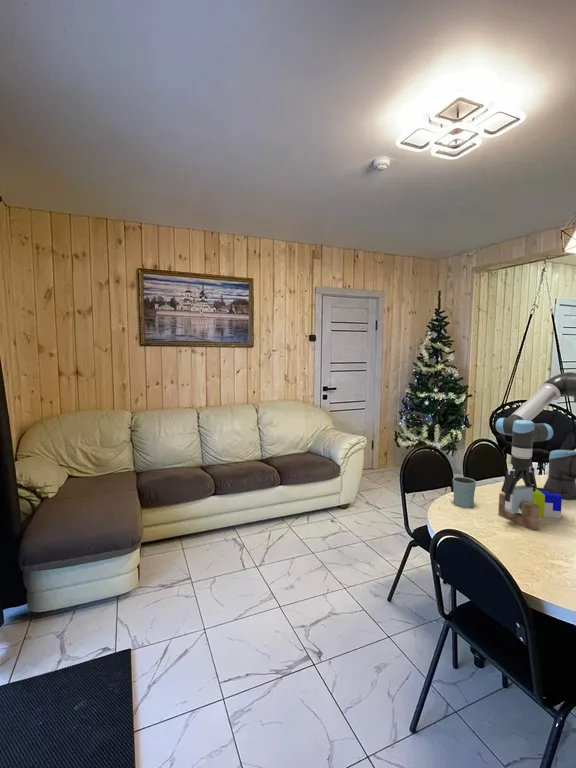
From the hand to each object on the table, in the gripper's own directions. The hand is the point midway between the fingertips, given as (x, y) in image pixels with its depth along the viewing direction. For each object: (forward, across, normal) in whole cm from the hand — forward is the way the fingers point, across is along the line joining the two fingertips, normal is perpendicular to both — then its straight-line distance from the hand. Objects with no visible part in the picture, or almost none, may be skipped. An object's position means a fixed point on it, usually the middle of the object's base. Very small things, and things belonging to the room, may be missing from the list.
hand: (518, 506), depth 162 cm
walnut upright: (+7, 0, 0) cm, 7 cm away
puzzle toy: (+7, -20, -3) cm, 21 cm away
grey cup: (+7, +7, -23) cm, 25 cm away
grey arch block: (+2, 0, 0) cm, 2 cm away
